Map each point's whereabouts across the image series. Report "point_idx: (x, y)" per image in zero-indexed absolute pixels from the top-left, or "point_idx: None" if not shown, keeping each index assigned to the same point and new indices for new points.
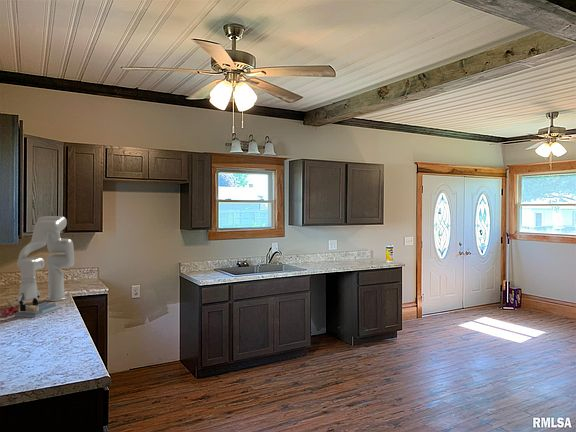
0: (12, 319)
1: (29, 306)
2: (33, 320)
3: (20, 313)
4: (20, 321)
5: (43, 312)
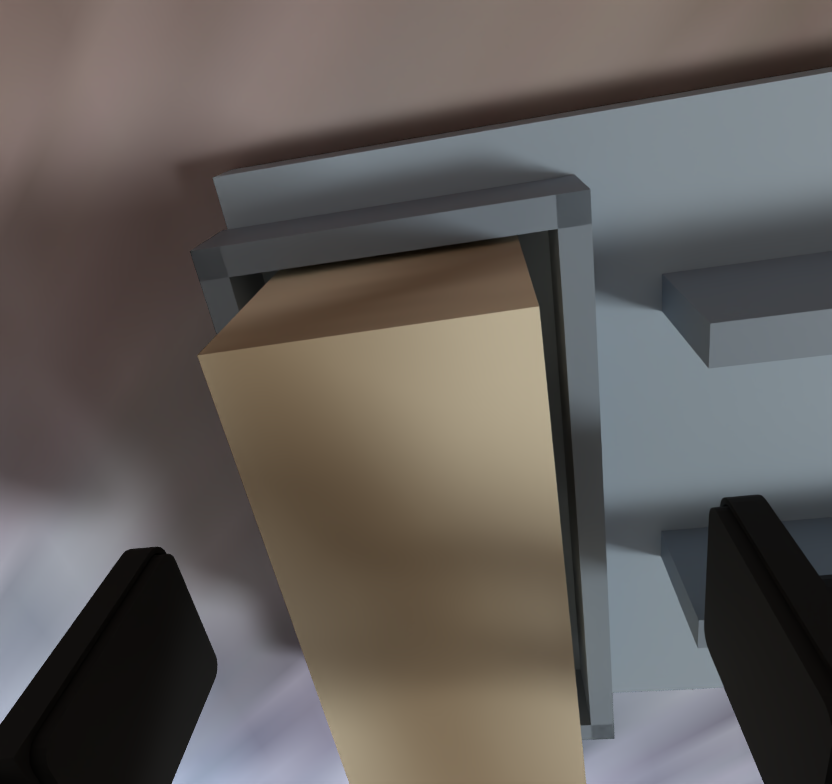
0: (20, 395)
1: (405, 699)
2: (196, 773)
3: None
4: (39, 651)
5: (639, 681)
